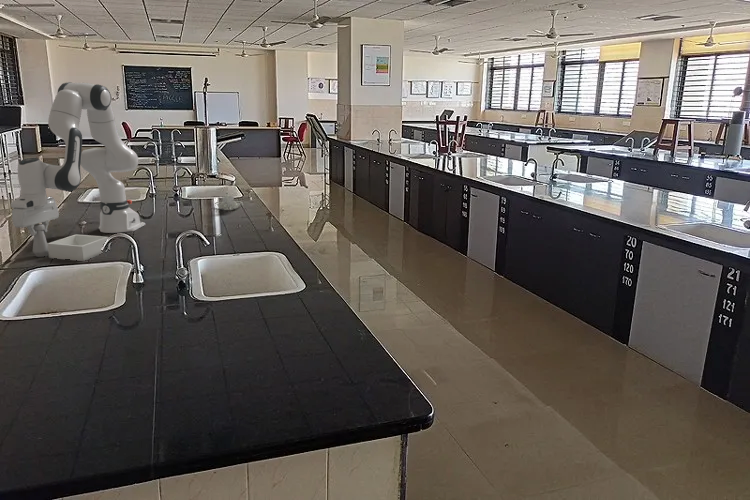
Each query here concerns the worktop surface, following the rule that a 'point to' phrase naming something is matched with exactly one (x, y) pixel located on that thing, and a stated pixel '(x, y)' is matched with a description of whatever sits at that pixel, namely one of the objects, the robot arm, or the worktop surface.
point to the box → (77, 247)
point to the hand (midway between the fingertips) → (39, 233)
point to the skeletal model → (228, 202)
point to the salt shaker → (40, 241)
